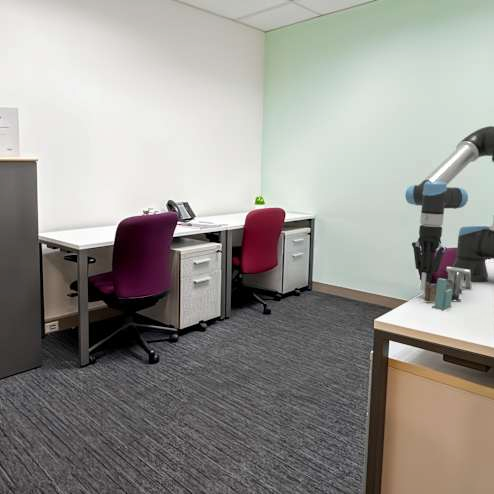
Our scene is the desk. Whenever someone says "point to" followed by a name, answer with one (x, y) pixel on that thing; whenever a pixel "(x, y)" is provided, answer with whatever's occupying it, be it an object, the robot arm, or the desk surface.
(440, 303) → the stile
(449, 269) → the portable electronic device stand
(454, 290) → the hinge post
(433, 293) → the gate
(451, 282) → the camera
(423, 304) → the desk surface
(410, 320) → the desk surface
